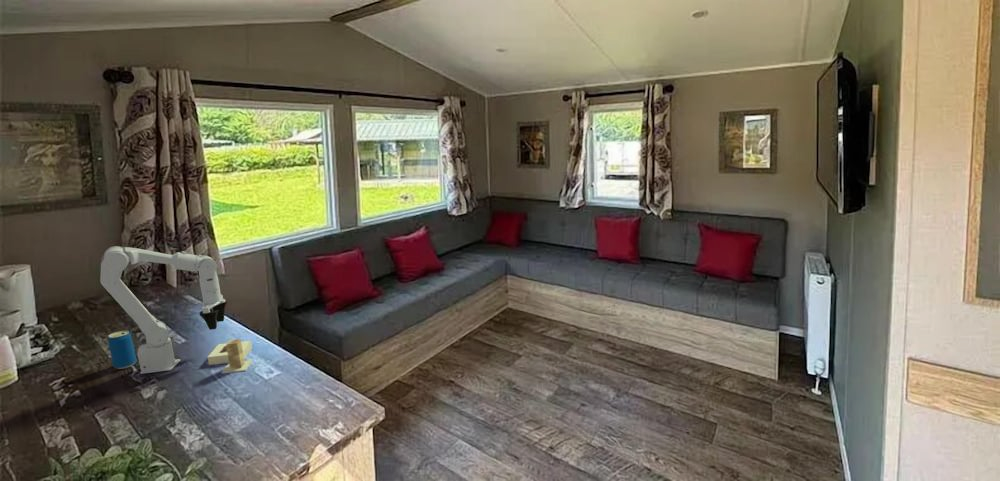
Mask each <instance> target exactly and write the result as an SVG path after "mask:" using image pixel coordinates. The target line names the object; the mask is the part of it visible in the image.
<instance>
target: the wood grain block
mask: <svg viewBox="0 0 1000 481" xmlns="http://www.w3.org/2000/svg"><path fill="white" fill-rule="evenodd" d="M241 342H242V340H241V339H240V338H237V339H229V340H228V342H226V343H227V344H226V347H227V353H228V359H229V364H230V369H235V368H242V366H243V365H244V363H245V362H244V361H245V359H244V356H243V350H242V344H241Z"/></svg>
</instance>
